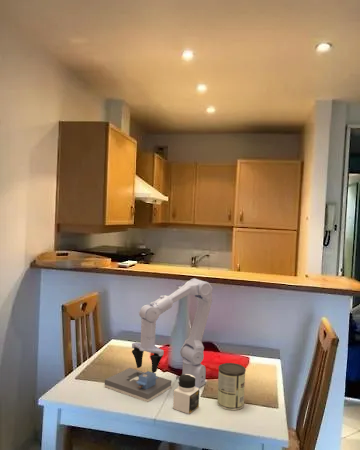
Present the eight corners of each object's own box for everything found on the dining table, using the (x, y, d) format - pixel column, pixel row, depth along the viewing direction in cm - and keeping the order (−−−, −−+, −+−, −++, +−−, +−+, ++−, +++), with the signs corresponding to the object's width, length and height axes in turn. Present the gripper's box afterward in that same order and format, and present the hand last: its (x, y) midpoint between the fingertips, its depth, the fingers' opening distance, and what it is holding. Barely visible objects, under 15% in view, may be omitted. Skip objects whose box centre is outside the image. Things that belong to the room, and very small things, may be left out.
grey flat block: (171, 387, 170) (171, 380, 170) (147, 402, 156) (148, 394, 156) (129, 374, 181) (129, 367, 181) (104, 386, 168) (104, 379, 168)
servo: (157, 383, 167) (158, 371, 166) (143, 391, 158) (143, 379, 158) (149, 380, 169) (150, 369, 169) (135, 388, 161) (135, 376, 160)
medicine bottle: (189, 414, 148) (190, 381, 148) (172, 408, 152) (174, 376, 151) (199, 407, 154) (200, 375, 154) (182, 401, 158) (184, 370, 157)
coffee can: (218, 396, 164) (220, 361, 163) (244, 400, 161) (246, 364, 161) (215, 408, 154) (216, 371, 153) (242, 412, 151) (244, 374, 151)
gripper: (127, 334, 164) (126, 367, 164) (156, 342, 156) (155, 377, 156) (138, 330, 170) (137, 362, 170) (167, 337, 162) (165, 371, 162)
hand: (146, 369), depth 164 cm, fingers open, 7 cm apart
